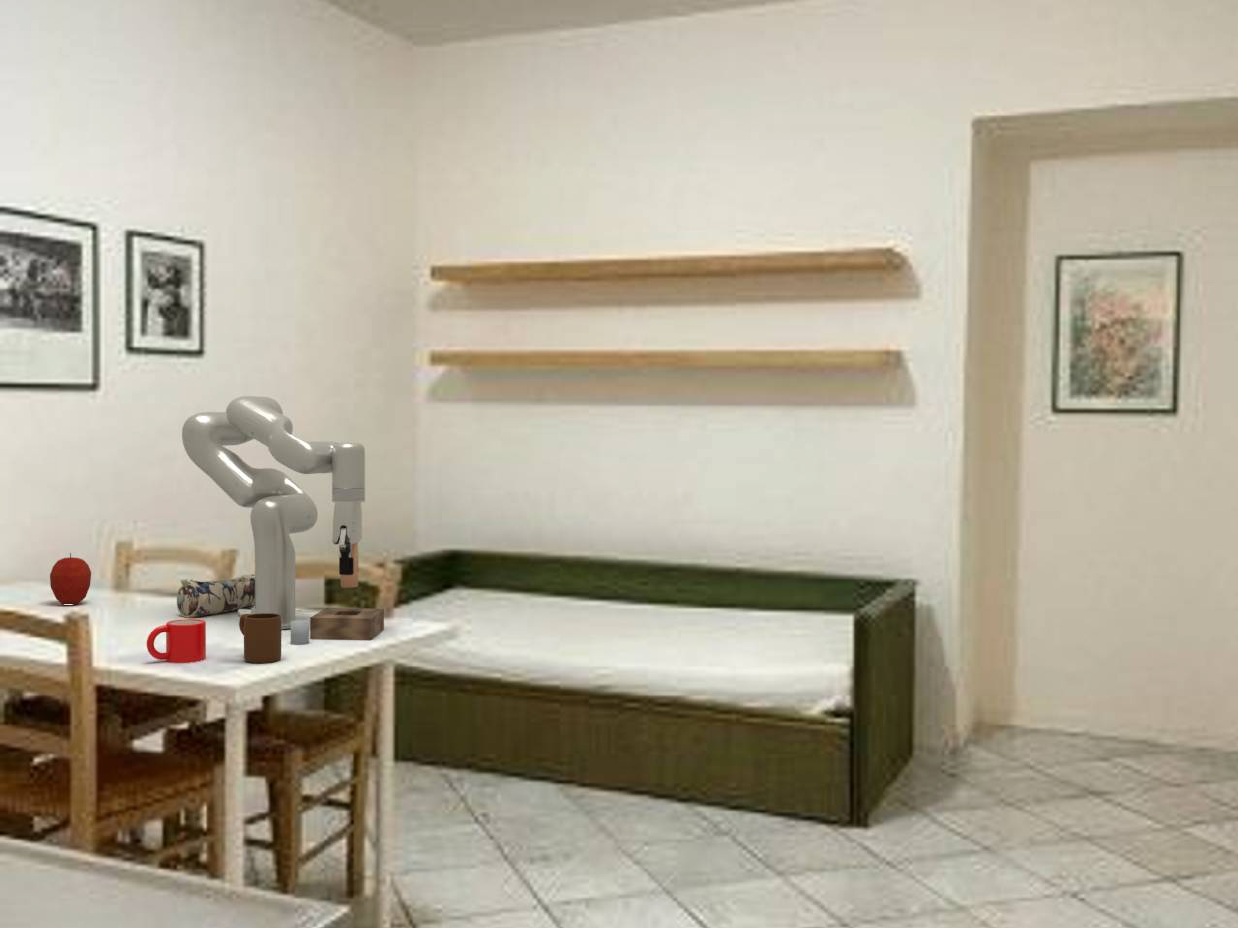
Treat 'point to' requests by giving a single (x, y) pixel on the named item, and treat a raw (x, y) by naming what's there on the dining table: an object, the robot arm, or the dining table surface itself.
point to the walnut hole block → (347, 624)
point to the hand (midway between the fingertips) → (348, 572)
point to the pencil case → (215, 596)
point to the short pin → (299, 632)
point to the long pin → (352, 580)
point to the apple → (70, 580)
